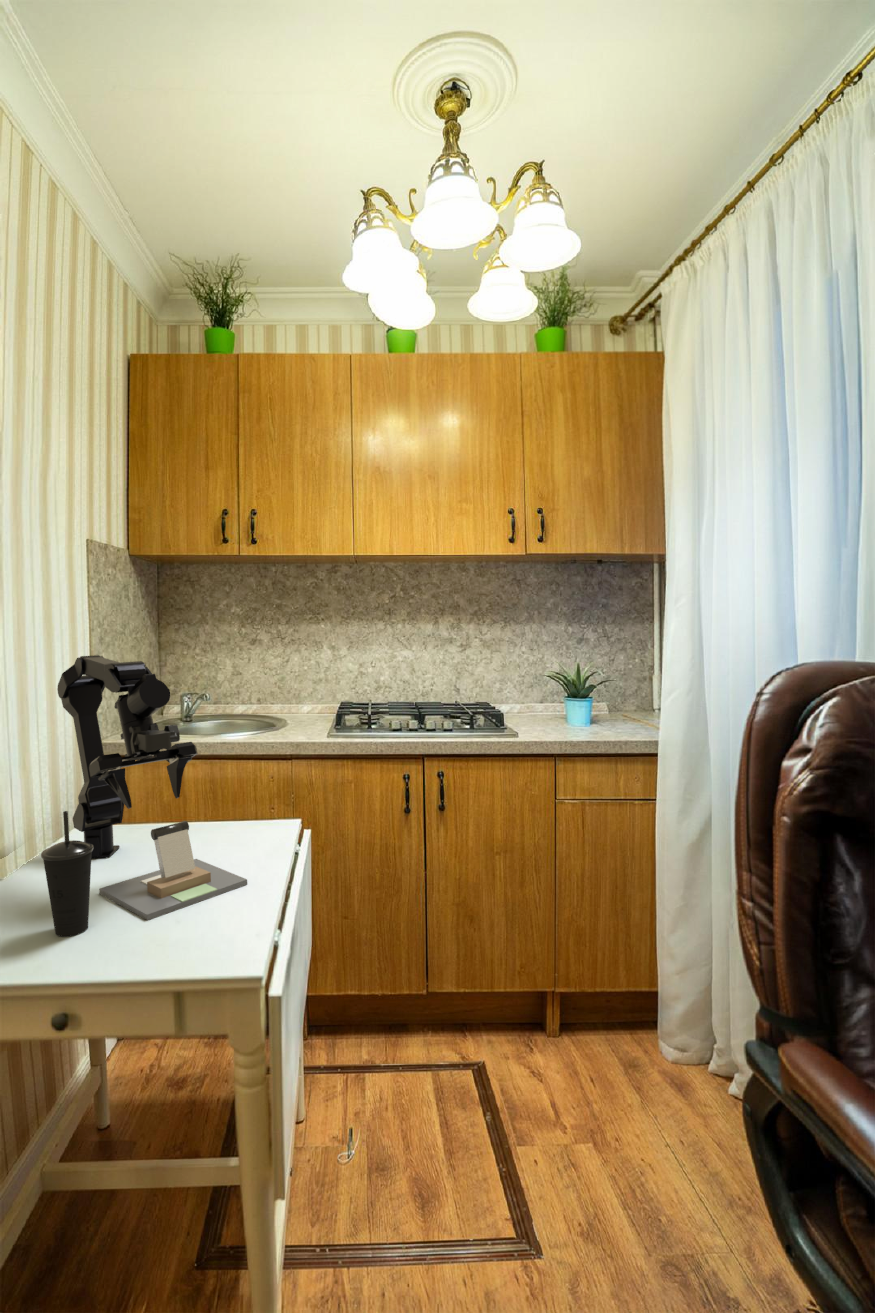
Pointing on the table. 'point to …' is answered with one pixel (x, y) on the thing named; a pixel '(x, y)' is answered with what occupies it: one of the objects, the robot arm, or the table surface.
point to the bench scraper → (173, 849)
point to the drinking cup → (68, 883)
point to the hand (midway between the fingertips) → (154, 803)
